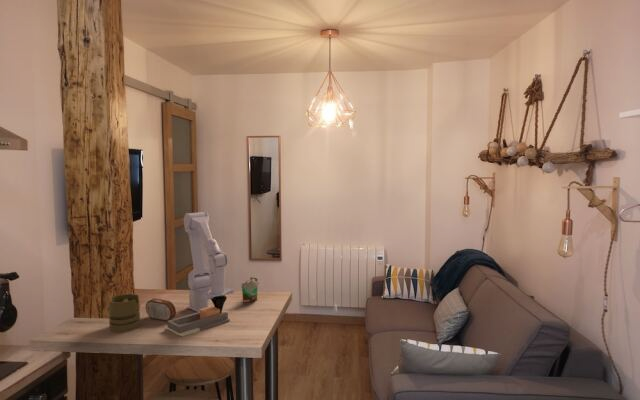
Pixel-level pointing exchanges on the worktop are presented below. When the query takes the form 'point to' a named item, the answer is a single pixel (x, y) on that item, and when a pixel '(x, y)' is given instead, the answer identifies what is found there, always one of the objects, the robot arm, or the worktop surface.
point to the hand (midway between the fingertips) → (218, 313)
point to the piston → (124, 313)
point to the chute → (195, 323)
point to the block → (208, 312)
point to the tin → (160, 309)
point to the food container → (250, 290)
